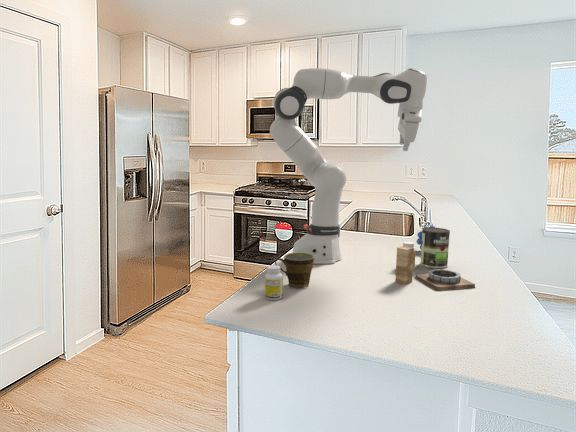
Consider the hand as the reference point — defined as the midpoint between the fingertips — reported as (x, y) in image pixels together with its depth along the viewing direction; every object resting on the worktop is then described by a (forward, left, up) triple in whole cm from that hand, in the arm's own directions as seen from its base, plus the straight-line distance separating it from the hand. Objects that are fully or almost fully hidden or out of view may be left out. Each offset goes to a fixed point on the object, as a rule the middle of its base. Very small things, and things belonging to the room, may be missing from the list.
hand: (403, 147), depth 177 cm
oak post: (-14, -30, -46) cm, 56 cm away
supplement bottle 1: (-61, -36, -46) cm, 84 cm away
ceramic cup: (-52, -26, -46) cm, 74 cm away
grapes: (+18, +7, -46) cm, 50 cm away
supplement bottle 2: (-4, -14, -46) cm, 48 cm away
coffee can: (+8, -13, -46) cm, 49 cm away
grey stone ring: (-1, -34, -44) cm, 56 cm away
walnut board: (-1, -34, -46) cm, 57 cm away
